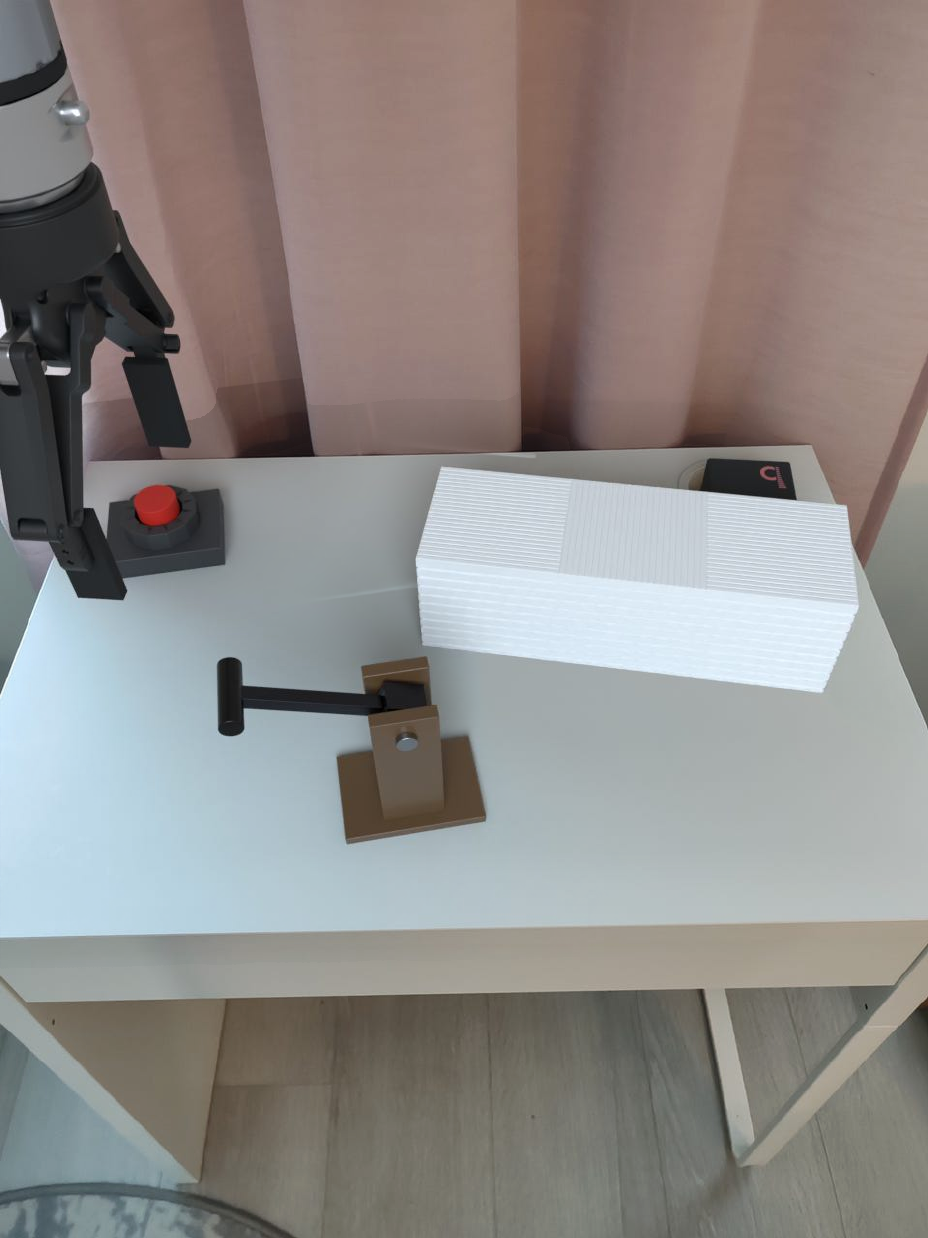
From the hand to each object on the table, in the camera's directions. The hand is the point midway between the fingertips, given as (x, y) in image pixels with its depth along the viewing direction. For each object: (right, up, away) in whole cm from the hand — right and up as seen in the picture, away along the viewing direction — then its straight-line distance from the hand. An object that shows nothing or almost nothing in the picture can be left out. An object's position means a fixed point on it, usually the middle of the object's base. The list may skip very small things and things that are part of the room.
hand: (139, 514), depth 62 cm
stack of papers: (+33, -7, +22) cm, 41 cm away
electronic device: (+46, 0, +28) cm, 54 cm away
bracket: (+16, -20, +11) cm, 28 cm away
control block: (-7, +1, +29) cm, 30 cm away
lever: (+11, -13, +2) cm, 17 cm away
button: (-7, +3, +27) cm, 28 cm away
